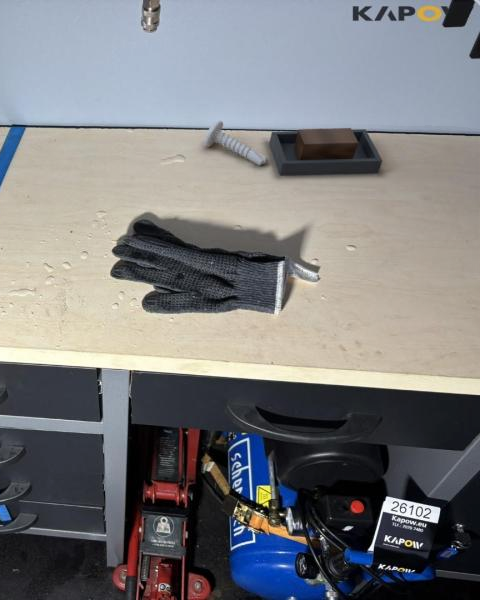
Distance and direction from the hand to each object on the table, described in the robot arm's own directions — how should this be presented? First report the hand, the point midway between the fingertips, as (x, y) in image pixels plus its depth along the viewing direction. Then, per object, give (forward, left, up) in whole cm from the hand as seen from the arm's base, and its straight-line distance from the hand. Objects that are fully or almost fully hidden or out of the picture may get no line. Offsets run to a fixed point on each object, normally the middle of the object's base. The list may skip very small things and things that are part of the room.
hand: (466, 41), depth 87 cm
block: (+14, -4, -22) cm, 26 cm away
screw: (+29, -6, -22) cm, 37 cm away
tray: (+14, -4, -22) cm, 27 cm away
